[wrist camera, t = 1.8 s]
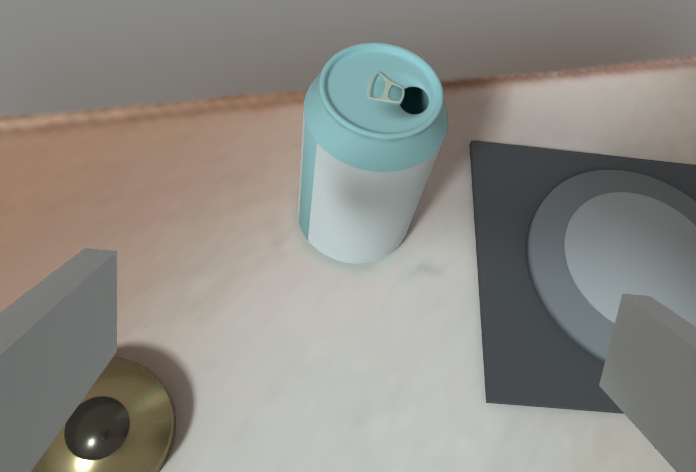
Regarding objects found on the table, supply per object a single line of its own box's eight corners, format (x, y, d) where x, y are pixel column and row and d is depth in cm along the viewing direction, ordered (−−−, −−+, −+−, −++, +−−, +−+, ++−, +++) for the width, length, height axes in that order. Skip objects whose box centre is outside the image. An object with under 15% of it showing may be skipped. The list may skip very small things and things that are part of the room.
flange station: (737, 174, 42) (755, 159, 40) (823, 429, 33) (851, 423, 32) (469, 144, 40) (477, 128, 39) (486, 402, 32) (497, 394, 30)
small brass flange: (187, 369, 31) (183, 362, 30) (159, 513, 27) (154, 511, 26) (53, 358, 30) (45, 351, 29) (9, 503, 27) (-3, 501, 26)
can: (379, 161, 39) (416, 19, 28) (425, 248, 36) (485, 124, 26) (281, 190, 37) (283, 48, 27) (322, 283, 34) (341, 166, 24)
